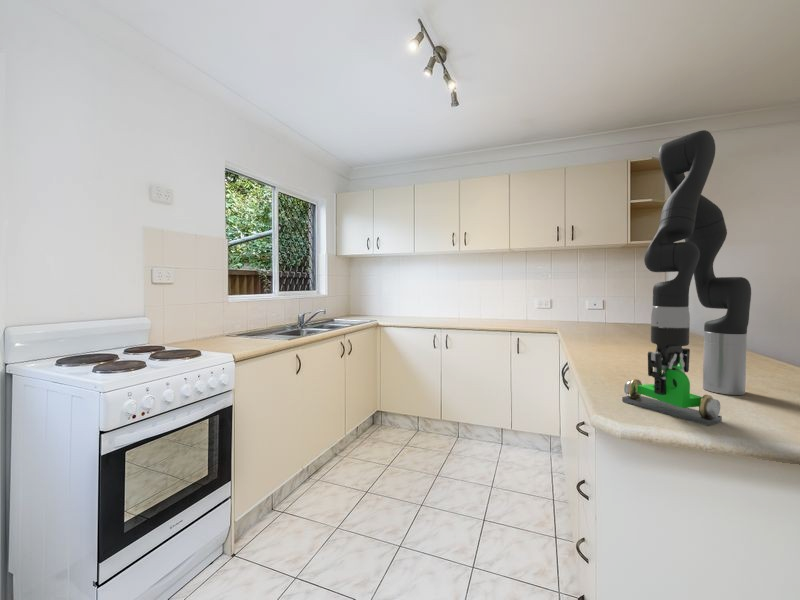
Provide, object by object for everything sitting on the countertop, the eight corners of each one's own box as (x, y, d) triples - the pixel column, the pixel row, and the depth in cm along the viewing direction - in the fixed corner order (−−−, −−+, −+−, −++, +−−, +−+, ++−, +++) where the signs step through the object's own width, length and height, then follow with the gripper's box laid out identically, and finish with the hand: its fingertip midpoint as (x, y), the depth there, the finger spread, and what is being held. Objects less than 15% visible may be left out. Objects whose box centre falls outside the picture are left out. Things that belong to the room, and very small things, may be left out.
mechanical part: (703, 405, 83) (704, 371, 82) (682, 408, 81) (683, 373, 81) (656, 391, 94) (657, 361, 94) (637, 392, 93) (637, 362, 93)
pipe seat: (634, 398, 98) (635, 376, 98) (721, 421, 81) (722, 395, 81) (622, 401, 95) (622, 379, 95) (709, 426, 78) (709, 398, 78)
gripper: (669, 322, 94) (667, 384, 94) (636, 325, 87) (635, 392, 88) (703, 324, 87) (701, 392, 88) (670, 328, 81) (669, 400, 81)
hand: (668, 391), depth 88 cm, fingers closed on mechanical part, 7 cm apart
